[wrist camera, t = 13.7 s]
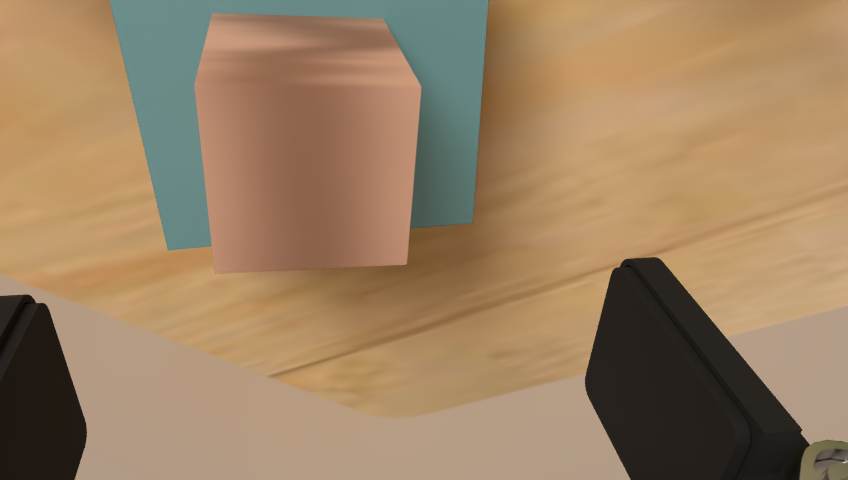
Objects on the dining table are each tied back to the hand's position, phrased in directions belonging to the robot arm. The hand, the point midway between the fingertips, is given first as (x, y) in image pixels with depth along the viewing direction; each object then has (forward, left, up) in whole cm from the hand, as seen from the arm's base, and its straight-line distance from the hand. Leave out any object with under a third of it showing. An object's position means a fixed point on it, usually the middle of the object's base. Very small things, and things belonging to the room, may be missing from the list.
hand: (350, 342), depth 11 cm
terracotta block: (0, 0, -12) cm, 12 cm away
